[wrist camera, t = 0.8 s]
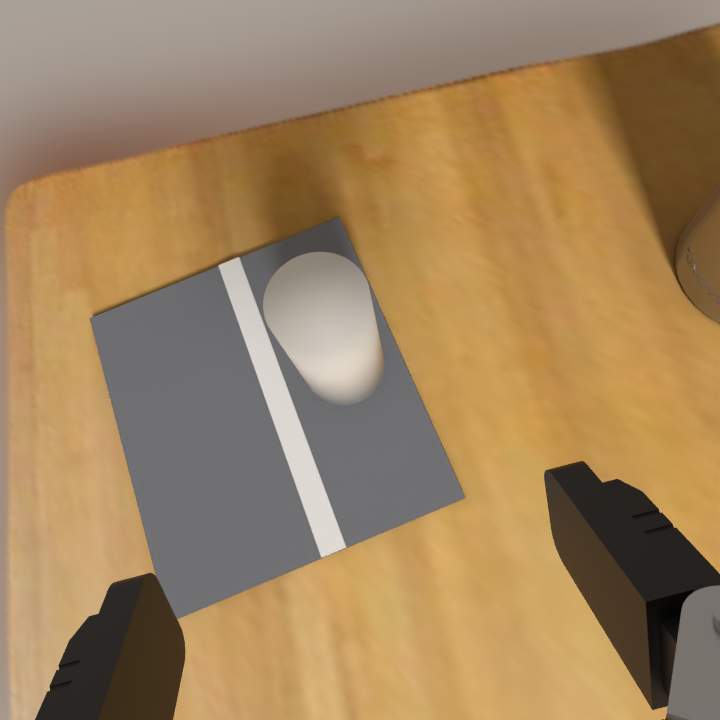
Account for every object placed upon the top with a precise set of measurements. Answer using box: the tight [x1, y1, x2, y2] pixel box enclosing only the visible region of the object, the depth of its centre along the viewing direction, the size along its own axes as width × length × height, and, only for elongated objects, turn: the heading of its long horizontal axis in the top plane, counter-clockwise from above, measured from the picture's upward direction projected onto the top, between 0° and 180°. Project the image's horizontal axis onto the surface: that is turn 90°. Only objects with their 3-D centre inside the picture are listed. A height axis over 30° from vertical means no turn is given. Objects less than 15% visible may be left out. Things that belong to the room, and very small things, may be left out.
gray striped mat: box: [90, 217, 465, 619], centre depth 37 cm, size 18×20×1 cm
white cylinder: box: [263, 252, 385, 406], centre depth 32 cm, size 5×5×10 cm
